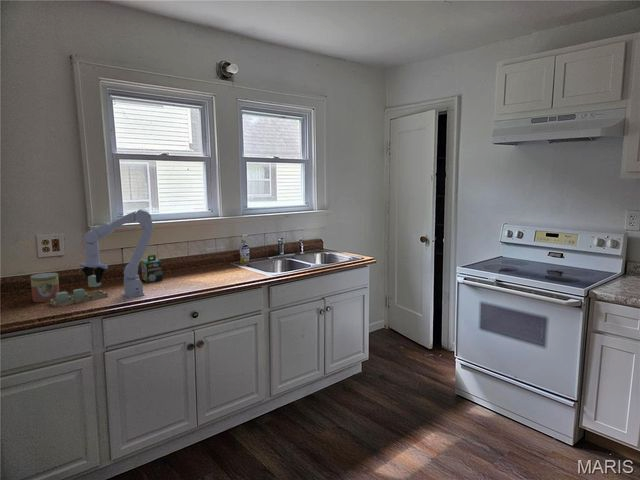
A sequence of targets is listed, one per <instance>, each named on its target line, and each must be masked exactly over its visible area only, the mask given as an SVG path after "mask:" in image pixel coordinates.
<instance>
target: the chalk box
mask: <svg viewBox="0 0 640 480" xmlns="http://www.w3.org/2000/svg"><path fill="white" fill-rule="evenodd" d="M156 257H157V256H156V254H152V255H147V259H144V260H143V259H142V260H141V261H140V263H141V264H140V266H141V268H140V269H141V279H142V280H143V281H145V282H146V283H152V282H157V281H162V280H164V279H163V278H164V277H163V261H162V260H160V259H158V258H156Z"/></svg>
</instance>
